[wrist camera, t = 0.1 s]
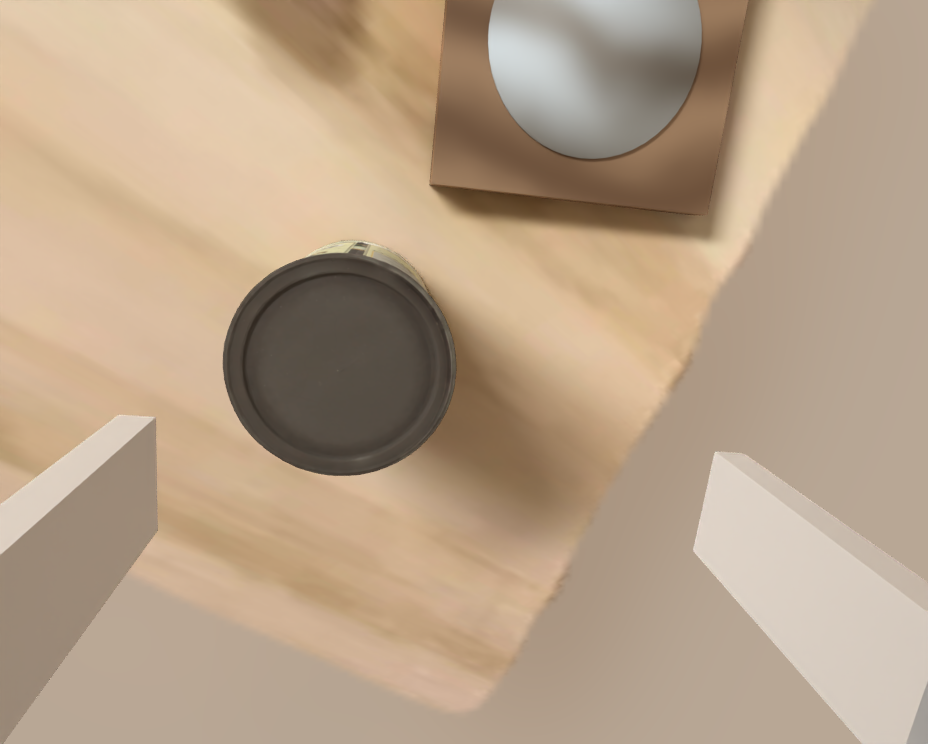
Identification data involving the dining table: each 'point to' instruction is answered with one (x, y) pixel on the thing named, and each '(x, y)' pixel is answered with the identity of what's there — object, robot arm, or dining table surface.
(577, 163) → the board
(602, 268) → the dining table surface
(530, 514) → the dining table surface
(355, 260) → the coffee can
